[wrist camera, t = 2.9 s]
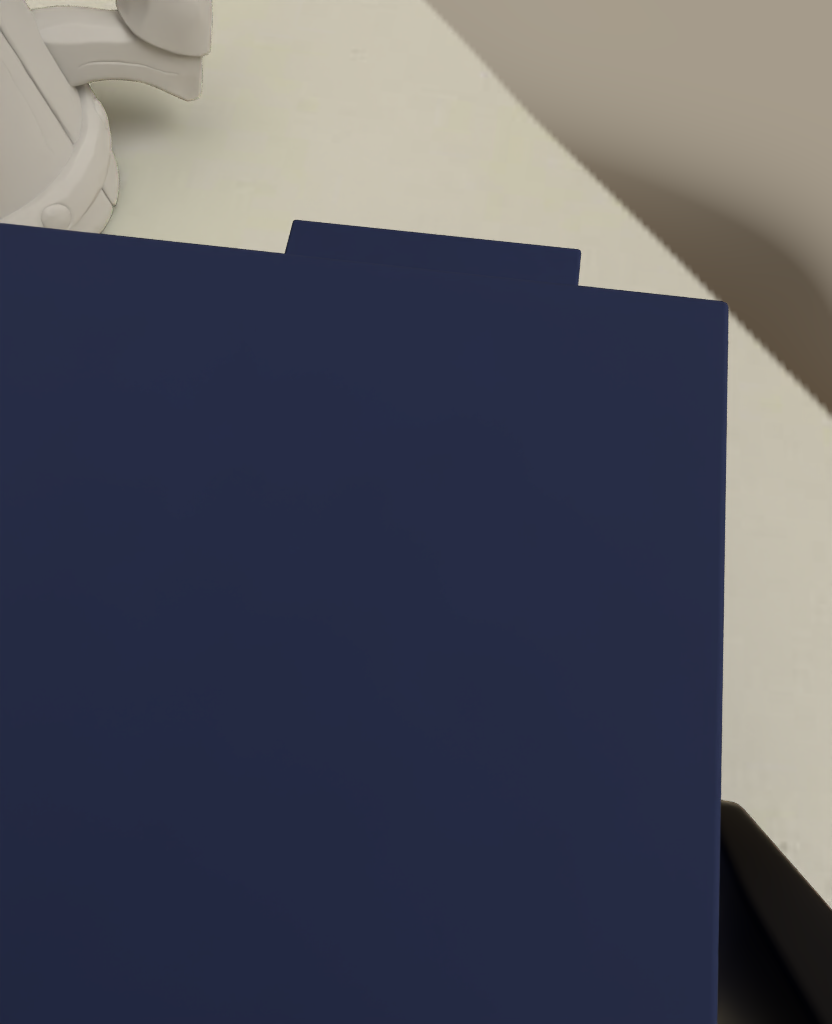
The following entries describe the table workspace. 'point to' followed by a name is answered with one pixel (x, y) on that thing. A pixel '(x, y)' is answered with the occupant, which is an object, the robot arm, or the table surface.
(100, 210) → the mug
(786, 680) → the table surface
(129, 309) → the navy blue box
